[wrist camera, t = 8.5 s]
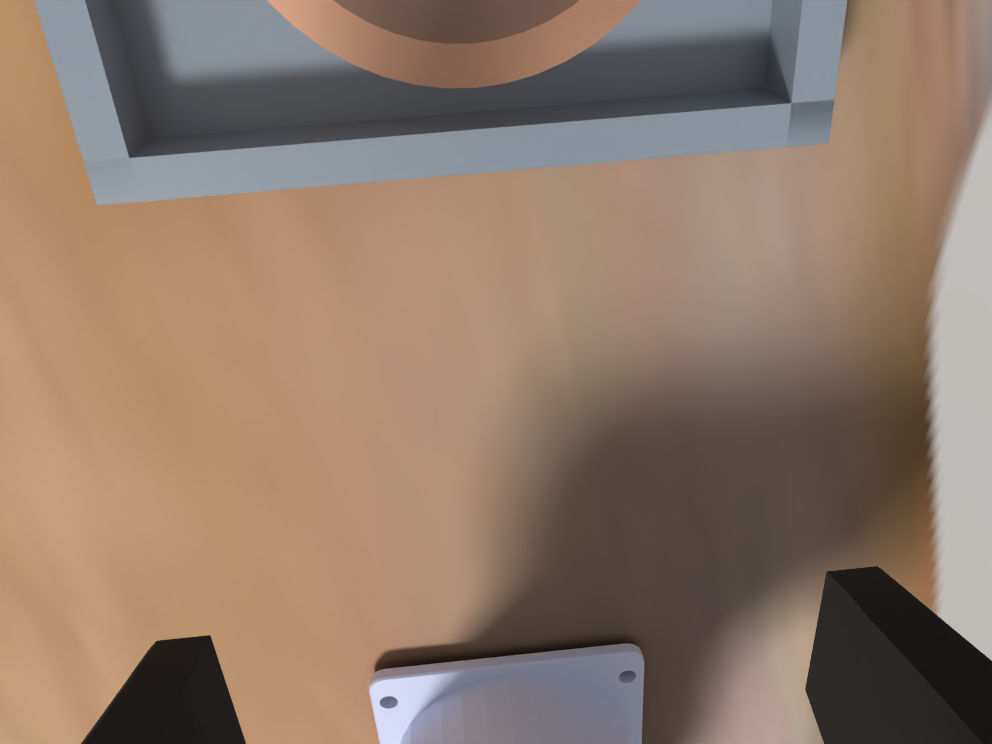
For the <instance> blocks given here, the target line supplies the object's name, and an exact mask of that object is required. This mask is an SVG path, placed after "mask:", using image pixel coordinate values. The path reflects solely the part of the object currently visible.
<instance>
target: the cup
mask: <svg viewBox="0 0 992 744" xmlns="http://www.w3.org/2000/svg"><path fill="white" fill-rule="evenodd" d="M267 1H268V2H269V3H270V4H271V5H272V6H273V7H274V8H275V9H276V10H277V11H278V12H280V13H281V14H282V15H283V16H284V17H285V18H286V19H287V20H288V21H289V22H290V23H291V24H292V25H293V26H294V27H296V28H297V29H298V30H300V31H301V32H302V33H304V34H305V35H307V36H308V37H309V38H311V39H312V40H313V41H315V42H316V43H317V44H319V45H320V46H321V47H323V48H324V49H326V50H328V51H330V52H332V53H333V54H335V55H337V56H339V57H341V58H342V59H344V60H346V61H348V62H349V63H351V64H353V65H356V66H358V67H361V68H363V69H366V70H368V71H370V72H373V73H375V74H378V75H380V76H383V77H387V78H391V79H394V80H398V81H402V82H406V83H410V84H414V85H422V86H430V87H438V88H478V87H485V86H491V85H498V84H504V83H509V82H512V81H516V80H519V79H523V78H526V77H529V76H533V75H536V74H539V73H541V72H543V71H545V70H548V69H550V68H552V67H554V66H557V65H559V64H561V63H563V62H565V61H567V60H569V59H570V58H572V57H574V56H575V55H577V54H579V53H580V52H582V51H584V50H585V49H587V48H588V47H590V46H592V45H593V44H595V43H596V42H597V41H598V40H600V39H601V38H602V37H603V36H605V35H606V34H607V33H608V32H610V31H611V30H612V29H613V28H615V27H616V26H617V25H618V24H620V23H621V21H622V20H623V19H624V18H625V17H626V16H627V15H628V14H629V13H630V12H631V11H632V10H633V9H634V8H635V7H636V6H637V5H638V4H639V3H640V2H641V1H642V0H267Z"/></svg>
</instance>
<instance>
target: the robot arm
mask: <svg viewBox="0 0 992 744" xmlns="http://www.w3.org/2000/svg"><path fill="white" fill-rule="evenodd" d="M624 671H627V672H624ZM643 688H644V658H643V655H642V651H641V649H640V648H639V647H638V646H636V645H634V644H626V643H625V644H615V645H606V646H596V647H587V648H577V649H568V650H558V651H549V652H539V653H530V654H520V655H511V656H502V657H492V658H483V659H473V660H464V661H454V662H445V663H435V664H426V665H416V666H407V667H397V668H388V669H382V670H379V671H377V672H375V673H374V674H373V675H372V676H371V678H370V688H369V692H370V697H371V702H372V707H373V712H374V717H375V722H376V727H377V732H378V737H379V742H380V744H642V717H643ZM805 690H806V693H807V696H808V698H809V701H810V704H811V707H812V710H813V713H814V716H815V719H816V721H817V724H818V727H819V730H820V733H821V736H822V739H823V741H824V744H992V661H991V660H990V659H989V658H988V657H986V656H985V655H984V654H983V653H981V652H980V651H979V650H978V649H977V648H975V647H974V646H973V645H972V644H971V643H969V642H968V641H967V640H966V639H965V638H963V637H962V636H961V635H960V634H959V633H957V632H956V631H955V630H954V629H952V628H951V627H950V626H949V625H948V624H946V623H945V622H944V621H943V620H942V619H941V618H939V617H938V616H937V615H936V614H935V613H933V612H932V611H931V610H930V609H929V608H927V607H926V606H925V605H924V604H923V603H921V602H920V601H919V600H918V599H917V598H915V597H914V596H913V595H912V594H911V593H909V592H908V591H907V590H906V589H905V588H903V587H902V586H901V585H900V584H899V583H897V582H896V581H895V580H894V579H893V578H891V577H890V576H889V575H888V574H886V573H885V572H884V571H883V570H881V569H880V568H879V567H878V566H876V567H866V568H856V569H847V570H837V571H827V573H826V578H825V584H824V589H823V595H822V600H821V606H820V611H819V617H818V622H817V628H816V633H815V639H814V644H813V650H812V655H811V661H810V666H809V672H808V678H807V683H806V689H805ZM387 696H392V697H387ZM81 744H246V743H245V740H244V736H243V733H242V730H241V727H240V724H239V721H238V718H237V715H236V712H235V709H234V706H233V703H232V700H231V697H230V694H229V691H228V688H227V685H226V682H225V679H224V676H223V673H222V670H221V667H220V664H219V661H218V658H217V655H216V651H215V648H214V645H213V642H212V639H211V636H210V635H209V636H199V637H189V638H180V639H170V640H160V641H156V642H155V643H154V645H153V646H152V647H151V648H150V649H149V650H148V652H147V653H146V654H145V656H144V657H143V659H142V660H141V661H140V663H139V664H138V666H137V667H136V668H135V670H134V671H133V672H132V674H131V675H130V677H129V678H128V679H127V681H126V682H125V684H124V685H123V686H122V688H121V689H120V691H119V692H118V693H117V695H116V696H115V698H114V699H113V700H112V702H111V703H110V705H109V706H108V707H107V709H106V710H105V712H104V713H103V714H102V716H101V717H100V719H99V720H98V721H97V723H96V724H95V725H94V727H93V728H92V729H91V731H90V732H89V734H88V735H87V736H86V738H85V739H84V740H83V742H82V743H81Z"/></svg>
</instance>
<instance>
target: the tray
mask: <svg viewBox="0 0 992 744" xmlns="http://www.w3.org/2000/svg"><path fill="white" fill-rule="evenodd" d="M34 2H35V5H36V9H37V12H38V15H39V18H40V22H41V25H42V28H43V31H44V35H45V38H46V41H47V44H48V48H49V51H50V54H51V57H52V61H53V64H54V67H55V70H56V74H57V77H58V80H59V83H60V87H61V90H62V93H63V96H64V100H65V103H66V106H67V109H68V113H69V116H70V119H71V122H72V126H73V129H74V132H75V135H76V139H77V142H78V145H79V148H80V152H81V155H82V158H83V161H84V165H85V168H86V171H87V174H88V178H89V181H90V184H91V187H92V191H93V194H94V197H95V200H96V204H97V205H107V204H119V203H131V202H143V201H154V200H166V199H178V198H190V197H202V196H213V195H225V194H237V193H249V192H261V191H273V190H284V189H296V188H308V187H320V186H332V185H343V184H355V183H367V182H379V181H391V180H402V179H414V178H426V177H438V176H450V175H461V174H473V173H485V172H497V171H509V170H520V169H532V168H544V167H556V166H568V165H579V164H591V163H603V162H615V161H627V160H638V159H650V158H662V157H674V156H686V155H698V154H709V153H721V152H733V151H745V150H757V149H768V148H780V147H792V146H804V145H816V144H827V143H829V136H830V129H831V121H832V114H833V106H834V98H835V91H836V83H837V76H838V68H839V60H840V53H841V45H842V38H843V30H844V22H845V15H846V7H847V0H642V1H641V2H640V3H639V4H638V5H637V6H636V7H635V8H634V9H633V10H632V11H631V12H630V13H629V14H628V15H627V16H626V17H625V18H624V19H623V20H622V21H621V23H620V24H618V25H617V26H616V27H615V28H613V29H612V30H611V31H610V32H608V33H607V34H606V35H605V36H603V37H602V38H601V39H600V40H598V41H597V42H596V43H595V44H593V45H592V46H590V47H588V48H587V49H585V50H584V51H582V52H580V53H579V54H577V55H575V56H574V57H572V58H570V59H569V60H567V61H565V62H563V63H561V64H559V65H557V66H554V67H552V68H550V69H548V70H545V71H543V72H541V73H539V74H536V75H533V76H529V77H526V78H523V79H519V80H516V81H512V82H509V83H504V84H498V85H491V86H485V87H478V88H438V87H430V86H422V85H414V84H410V83H406V82H402V81H398V80H394V79H391V78H387V77H383V76H380V75H378V74H375V73H373V72H370V71H368V70H366V69H363V68H361V67H358V66H356V65H353V64H351V63H349V62H348V61H346V60H344V59H342V58H341V57H339V56H337V55H335V54H333V53H332V52H330V51H328V50H326V49H324V48H323V47H321V46H320V45H319V44H317V43H316V42H315V41H313V40H312V39H311V38H309V37H308V36H307V35H305V34H304V33H302V32H301V31H300V30H298V29H297V28H296V27H294V26H293V25H292V24H291V23H290V22H289V21H288V20H287V19H286V18H285V17H284V16H283V15H282V14H281V13H280V12H278V11H277V10H276V9H275V8H274V7H273V6H272V5H271V4H270V3H269V2H268V1H267V0H34Z"/></svg>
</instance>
